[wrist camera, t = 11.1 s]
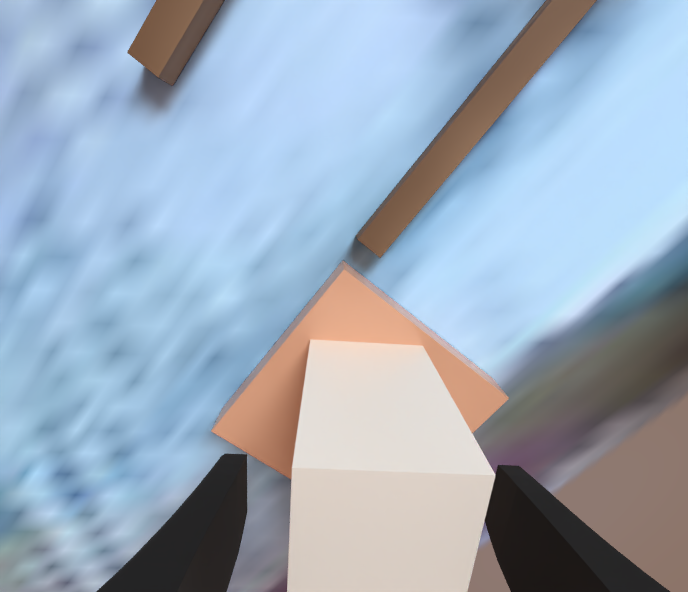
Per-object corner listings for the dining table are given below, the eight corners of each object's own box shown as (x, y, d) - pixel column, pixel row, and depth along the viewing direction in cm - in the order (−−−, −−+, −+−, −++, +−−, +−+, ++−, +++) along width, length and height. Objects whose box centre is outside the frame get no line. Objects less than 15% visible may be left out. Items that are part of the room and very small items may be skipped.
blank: (422, 345, 13) (495, 475, 7) (402, 481, 15) (447, 672, 9) (310, 339, 13) (291, 467, 7) (303, 477, 14) (283, 671, 9)
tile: (492, 377, 15) (508, 398, 14) (369, 499, 17) (372, 528, 15) (342, 260, 13) (344, 269, 12) (222, 407, 15) (211, 431, 14)
